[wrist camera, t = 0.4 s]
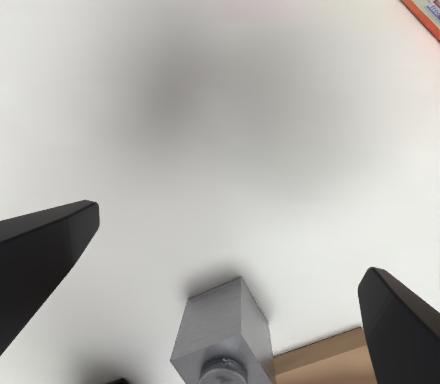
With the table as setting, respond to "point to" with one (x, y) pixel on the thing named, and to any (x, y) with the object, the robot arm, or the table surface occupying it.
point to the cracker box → (426, 13)
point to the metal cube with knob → (224, 339)
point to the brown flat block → (328, 362)
